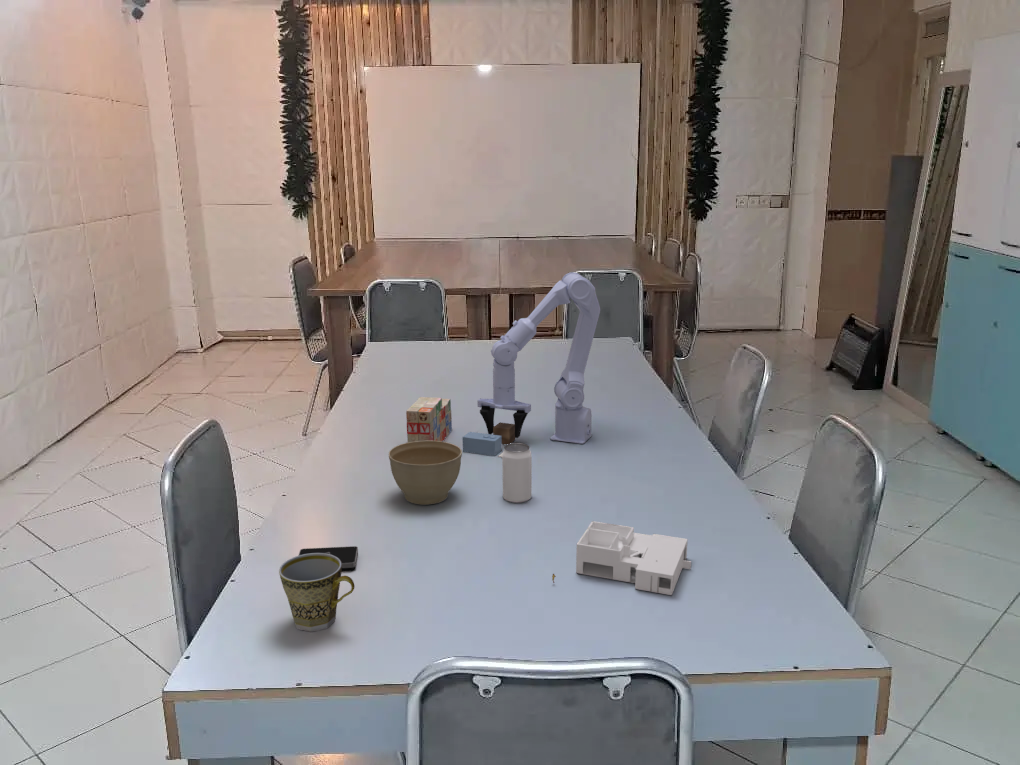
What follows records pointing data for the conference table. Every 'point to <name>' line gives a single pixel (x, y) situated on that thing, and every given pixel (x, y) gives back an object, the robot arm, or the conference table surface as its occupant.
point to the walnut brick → (505, 432)
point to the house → (632, 557)
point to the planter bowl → (425, 470)
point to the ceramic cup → (313, 589)
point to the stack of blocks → (429, 419)
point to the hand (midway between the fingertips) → (504, 435)
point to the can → (517, 473)
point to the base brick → (482, 443)
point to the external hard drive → (338, 555)
